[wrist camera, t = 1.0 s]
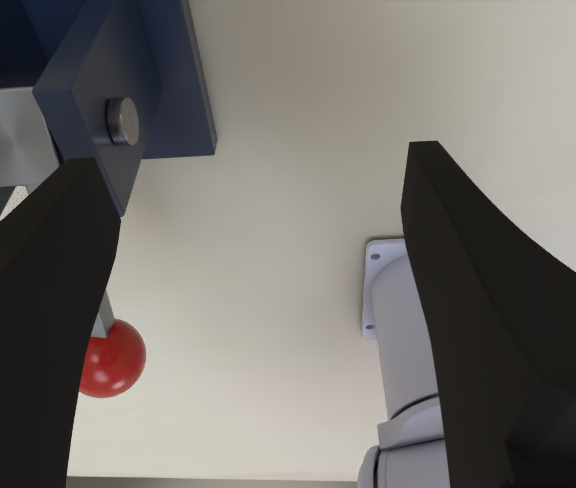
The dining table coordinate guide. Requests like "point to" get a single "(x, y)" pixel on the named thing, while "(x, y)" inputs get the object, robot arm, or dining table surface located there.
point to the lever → (31, 173)
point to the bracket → (112, 81)
